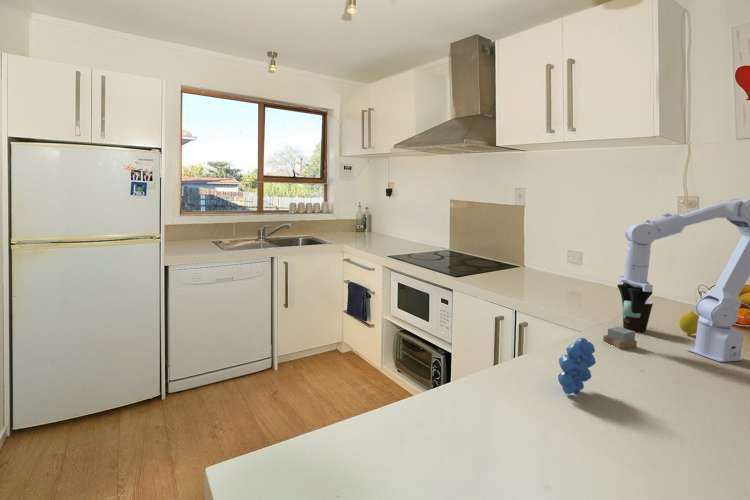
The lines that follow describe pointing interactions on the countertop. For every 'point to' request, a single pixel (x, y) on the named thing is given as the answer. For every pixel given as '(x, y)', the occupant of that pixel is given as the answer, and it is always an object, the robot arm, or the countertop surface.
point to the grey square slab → (621, 334)
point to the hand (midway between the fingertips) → (631, 310)
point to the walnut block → (619, 342)
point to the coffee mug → (638, 319)
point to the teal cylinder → (629, 310)
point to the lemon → (689, 323)
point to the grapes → (576, 366)
